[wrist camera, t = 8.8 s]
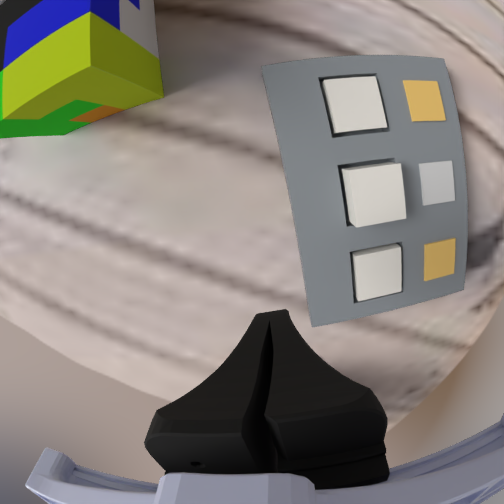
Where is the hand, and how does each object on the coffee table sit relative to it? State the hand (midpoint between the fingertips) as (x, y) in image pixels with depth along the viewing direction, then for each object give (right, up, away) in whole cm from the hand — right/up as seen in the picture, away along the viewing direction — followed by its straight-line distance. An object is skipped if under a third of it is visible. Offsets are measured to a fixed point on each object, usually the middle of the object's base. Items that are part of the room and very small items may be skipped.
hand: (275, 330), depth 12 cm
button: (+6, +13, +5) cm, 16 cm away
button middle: (+7, +7, +6) cm, 12 cm away
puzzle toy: (-13, +19, +6) cm, 24 cm away
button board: (+9, +8, +8) cm, 14 cm away
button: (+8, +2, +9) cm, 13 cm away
